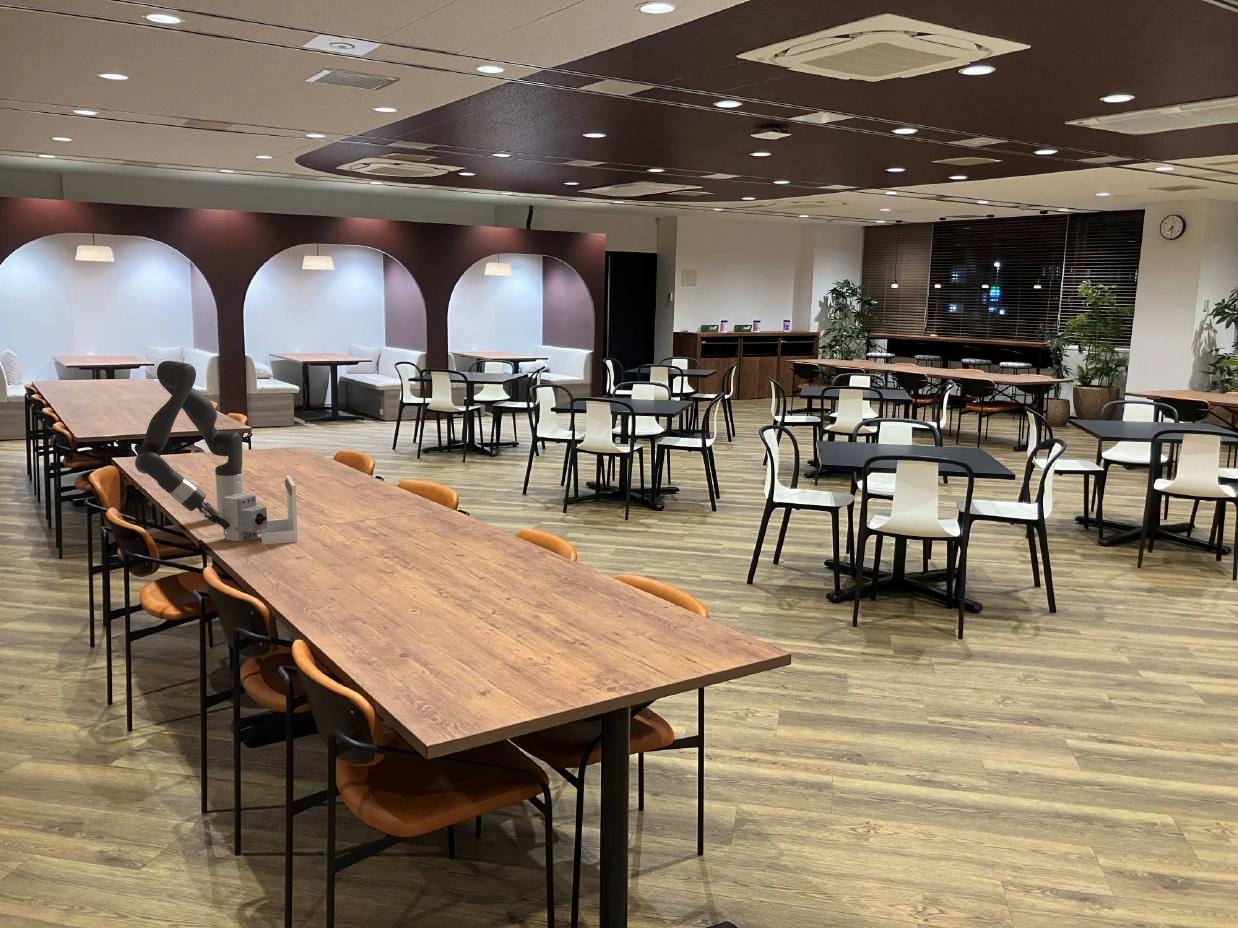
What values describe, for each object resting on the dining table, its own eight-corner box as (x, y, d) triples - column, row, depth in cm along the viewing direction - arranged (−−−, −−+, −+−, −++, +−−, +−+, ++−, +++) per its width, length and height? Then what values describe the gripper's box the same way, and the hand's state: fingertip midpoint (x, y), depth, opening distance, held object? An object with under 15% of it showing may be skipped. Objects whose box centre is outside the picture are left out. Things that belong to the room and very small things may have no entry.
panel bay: (257, 531, 356) (255, 477, 352) (291, 529, 360) (289, 475, 357) (262, 544, 338) (259, 487, 334) (297, 541, 342) (295, 485, 339)
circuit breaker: (256, 543, 339) (255, 500, 337) (223, 539, 344) (221, 497, 341) (271, 538, 346) (269, 496, 344) (239, 534, 351) (237, 493, 348)
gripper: (195, 490, 330) (236, 523, 336) (195, 483, 341) (235, 515, 348) (179, 506, 328) (220, 539, 335) (179, 498, 340) (219, 530, 347)
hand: (227, 527), depth 342 cm, fingers closed
